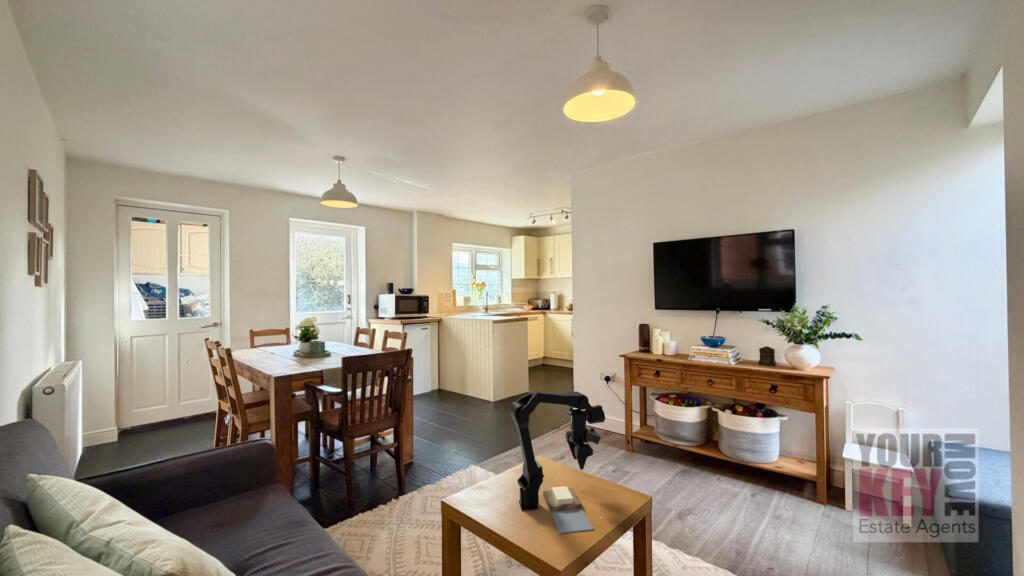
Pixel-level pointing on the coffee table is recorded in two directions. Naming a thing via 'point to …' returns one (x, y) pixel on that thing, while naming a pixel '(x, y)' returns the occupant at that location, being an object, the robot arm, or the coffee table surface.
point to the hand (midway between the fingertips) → (578, 464)
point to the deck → (554, 507)
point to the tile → (562, 495)
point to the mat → (571, 521)
